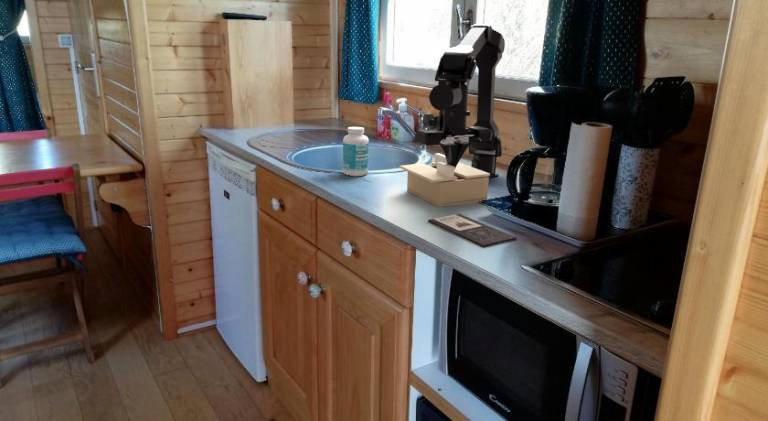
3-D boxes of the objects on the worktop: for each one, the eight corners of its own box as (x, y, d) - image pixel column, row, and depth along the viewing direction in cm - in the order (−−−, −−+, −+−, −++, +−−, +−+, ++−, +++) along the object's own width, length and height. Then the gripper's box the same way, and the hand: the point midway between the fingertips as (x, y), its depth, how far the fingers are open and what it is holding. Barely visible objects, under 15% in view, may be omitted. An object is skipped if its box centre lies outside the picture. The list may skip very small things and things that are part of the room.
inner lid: (453, 162, 156) (454, 151, 156) (489, 176, 143) (490, 163, 142) (431, 164, 153) (431, 153, 153) (466, 178, 140) (467, 166, 139)
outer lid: (423, 165, 152) (423, 154, 151) (457, 179, 139) (458, 167, 138) (399, 167, 149) (399, 156, 148) (432, 182, 136) (432, 169, 135)
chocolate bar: (483, 245, 113) (428, 219, 127) (483, 249, 113) (427, 223, 128) (516, 237, 118) (459, 213, 132) (516, 241, 118) (459, 217, 132)
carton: (451, 185, 158) (453, 163, 156) (487, 200, 145) (488, 177, 143) (407, 190, 152) (407, 168, 150) (439, 206, 139) (440, 182, 137)
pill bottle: (358, 178, 164) (358, 130, 160) (337, 174, 168) (337, 128, 163) (373, 173, 170) (373, 127, 166) (352, 169, 174) (352, 124, 169)
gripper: (468, 101, 148) (464, 161, 152) (404, 103, 139) (402, 166, 144) (495, 106, 138) (490, 169, 143) (428, 109, 130) (425, 176, 135)
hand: (451, 170), depth 141 cm, fingers closed
